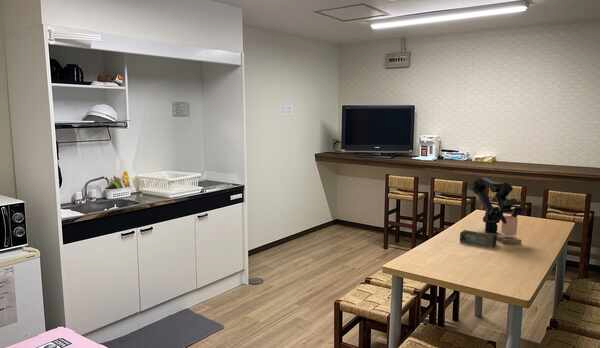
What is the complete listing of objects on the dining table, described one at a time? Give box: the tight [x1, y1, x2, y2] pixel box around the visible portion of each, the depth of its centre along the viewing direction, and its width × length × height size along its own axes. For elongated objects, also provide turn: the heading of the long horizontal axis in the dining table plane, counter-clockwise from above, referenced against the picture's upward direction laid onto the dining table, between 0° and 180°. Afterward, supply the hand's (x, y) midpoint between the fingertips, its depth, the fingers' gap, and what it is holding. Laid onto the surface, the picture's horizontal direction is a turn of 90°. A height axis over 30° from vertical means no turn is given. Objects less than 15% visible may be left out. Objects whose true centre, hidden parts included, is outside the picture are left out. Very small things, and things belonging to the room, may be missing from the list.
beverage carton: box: [459, 229, 498, 248], centre depth 261 cm, size 8×19×7 cm, turn 53°
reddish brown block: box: [500, 215, 519, 236], centre depth 262 cm, size 6×6×10 cm
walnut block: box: [496, 234, 522, 245], centre depth 263 cm, size 10×10×3 cm
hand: (510, 223), depth 261 cm, fingers closed on reddish brown block, 6 cm apart
